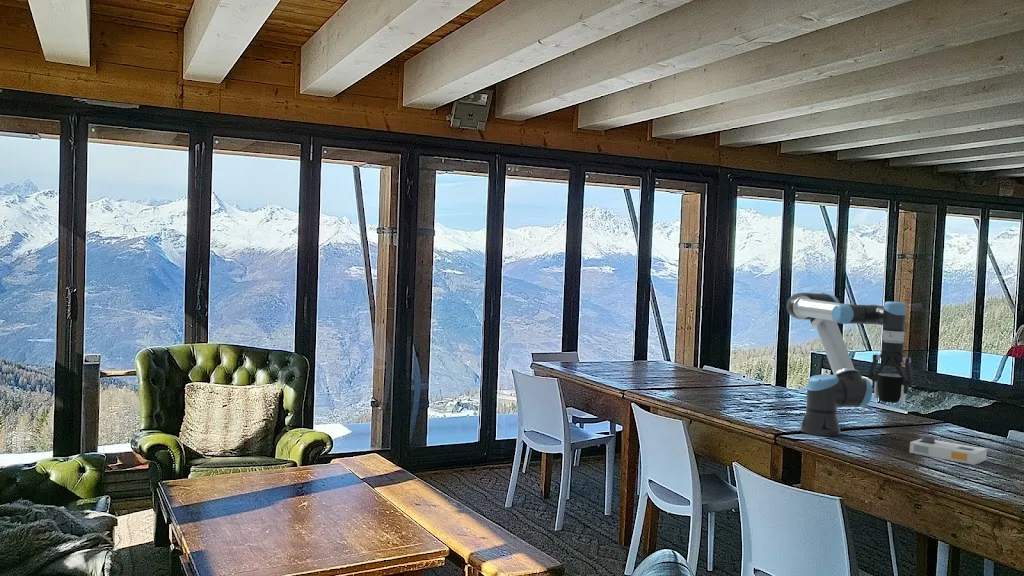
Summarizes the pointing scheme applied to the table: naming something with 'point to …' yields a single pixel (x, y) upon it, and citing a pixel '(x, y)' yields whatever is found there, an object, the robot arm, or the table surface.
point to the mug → (889, 387)
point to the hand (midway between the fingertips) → (889, 399)
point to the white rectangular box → (949, 451)
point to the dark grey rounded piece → (928, 439)
